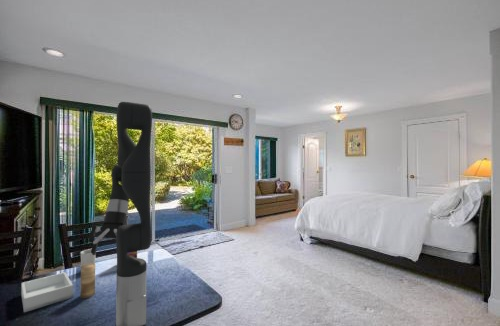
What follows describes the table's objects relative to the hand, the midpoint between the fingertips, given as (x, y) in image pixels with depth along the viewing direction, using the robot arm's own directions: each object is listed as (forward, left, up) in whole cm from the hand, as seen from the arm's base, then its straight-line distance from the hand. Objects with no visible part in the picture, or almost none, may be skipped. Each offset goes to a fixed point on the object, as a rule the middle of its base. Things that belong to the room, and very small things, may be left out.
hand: (106, 255), depth 91 cm
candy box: (+41, -22, -20) cm, 50 cm away
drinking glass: (+45, -4, -20) cm, 49 cm away
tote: (+28, +14, -20) cm, 37 cm away
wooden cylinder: (+17, +2, -20) cm, 26 cm away
